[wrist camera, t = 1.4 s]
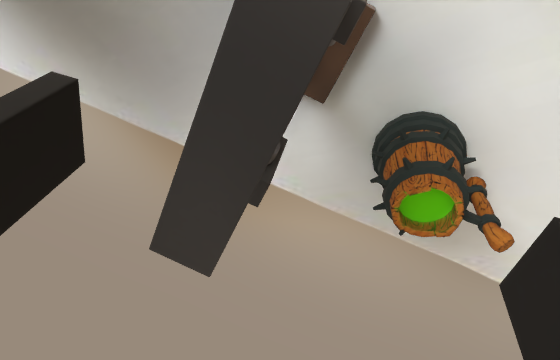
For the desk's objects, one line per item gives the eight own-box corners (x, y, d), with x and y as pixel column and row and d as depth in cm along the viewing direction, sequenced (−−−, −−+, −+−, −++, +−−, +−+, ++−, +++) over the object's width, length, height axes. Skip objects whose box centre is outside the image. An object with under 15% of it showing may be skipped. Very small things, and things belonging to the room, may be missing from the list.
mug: (354, 172, 47) (348, 238, 37) (395, 93, 41) (401, 148, 31) (459, 213, 47) (479, 289, 37) (515, 140, 41) (557, 209, 31)
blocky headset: (210, 138, 35) (133, 242, 24) (293, -76, 25) (226, -65, 14) (272, 168, 36) (224, 284, 25) (377, -30, 26) (375, 14, 15)
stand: (238, 55, 42) (132, 162, 24) (276, -46, 36) (175, -4, 18) (324, 99, 43) (285, 236, 25) (375, 7, 37) (372, 98, 19)
